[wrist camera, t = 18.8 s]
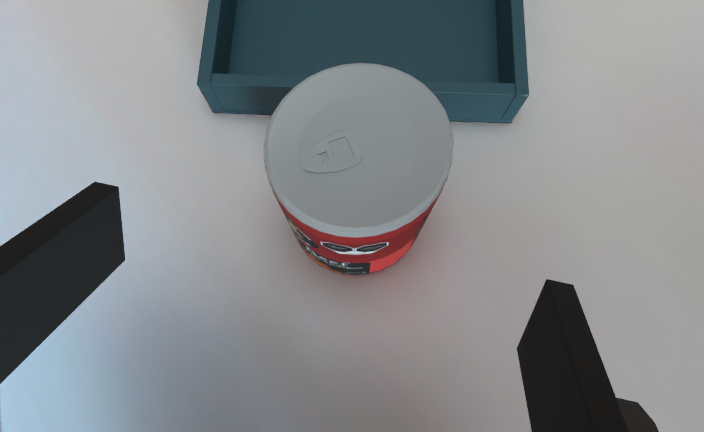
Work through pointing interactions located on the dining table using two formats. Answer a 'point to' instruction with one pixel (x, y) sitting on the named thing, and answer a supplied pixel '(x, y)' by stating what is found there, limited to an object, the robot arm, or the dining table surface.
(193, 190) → the dining table surface
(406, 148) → the canned food
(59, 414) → the dining table surface
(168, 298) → the dining table surface
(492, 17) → the tray
